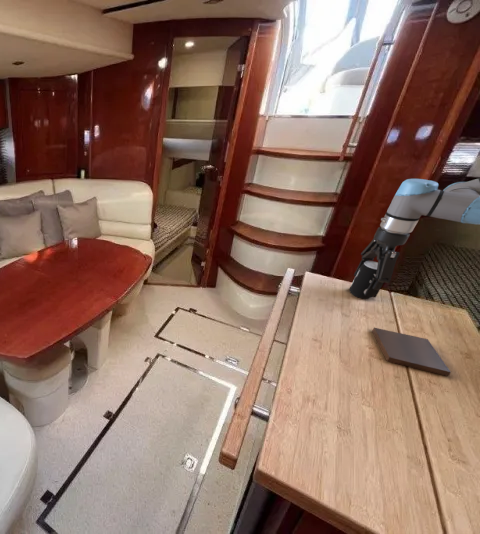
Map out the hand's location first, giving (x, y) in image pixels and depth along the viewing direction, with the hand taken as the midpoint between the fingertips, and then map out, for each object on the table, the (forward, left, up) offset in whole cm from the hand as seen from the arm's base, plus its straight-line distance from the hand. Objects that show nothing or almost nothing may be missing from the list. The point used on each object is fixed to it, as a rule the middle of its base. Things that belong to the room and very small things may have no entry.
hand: (363, 285), depth 106 cm
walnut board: (-4, +29, -4) cm, 29 cm away
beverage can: (0, 0, -4) cm, 4 cm away
